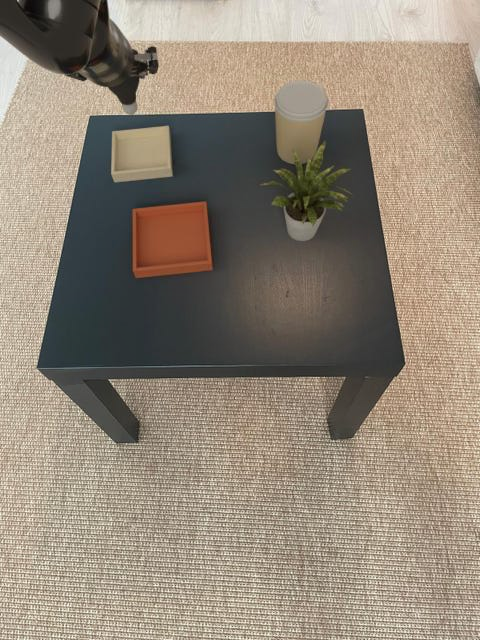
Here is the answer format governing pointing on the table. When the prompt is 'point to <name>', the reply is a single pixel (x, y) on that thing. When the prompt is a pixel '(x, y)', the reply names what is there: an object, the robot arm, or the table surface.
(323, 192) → the house plant
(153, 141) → the cream tray
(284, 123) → the coffee cup
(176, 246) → the terracotta tray
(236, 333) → the table surface
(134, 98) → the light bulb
